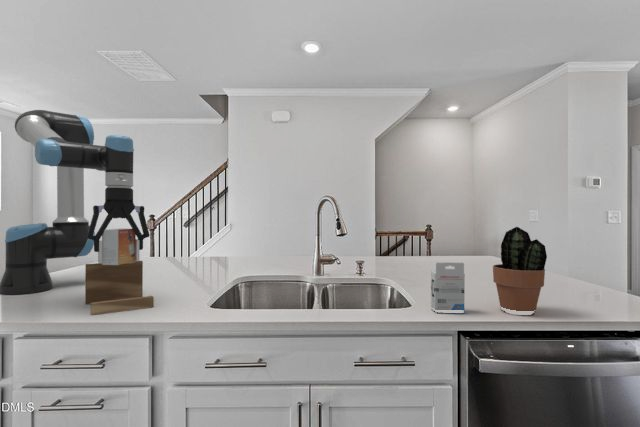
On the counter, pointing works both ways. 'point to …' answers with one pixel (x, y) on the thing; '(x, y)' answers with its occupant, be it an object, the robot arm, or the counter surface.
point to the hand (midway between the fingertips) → (119, 261)
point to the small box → (118, 246)
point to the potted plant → (520, 271)
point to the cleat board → (115, 288)
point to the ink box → (448, 287)
